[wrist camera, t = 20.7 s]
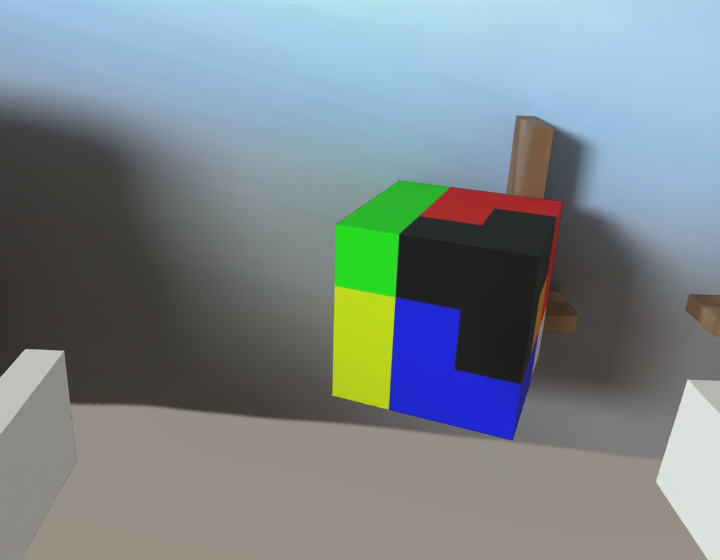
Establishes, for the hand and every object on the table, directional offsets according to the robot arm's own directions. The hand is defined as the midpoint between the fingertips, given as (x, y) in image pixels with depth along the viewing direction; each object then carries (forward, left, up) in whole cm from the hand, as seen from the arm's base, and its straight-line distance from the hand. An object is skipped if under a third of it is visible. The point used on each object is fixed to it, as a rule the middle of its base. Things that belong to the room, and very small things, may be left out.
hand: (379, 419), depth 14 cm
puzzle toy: (+7, -7, -27) cm, 29 cm away
